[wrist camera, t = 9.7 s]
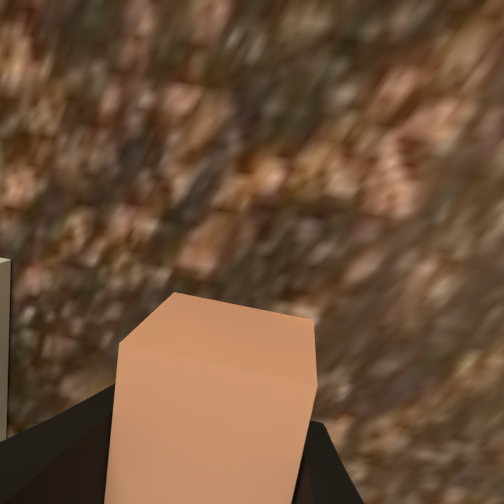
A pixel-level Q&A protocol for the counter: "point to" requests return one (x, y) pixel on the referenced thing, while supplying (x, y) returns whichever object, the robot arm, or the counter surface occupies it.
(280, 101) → the counter surface
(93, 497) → the robot arm
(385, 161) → the counter surface
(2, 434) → the baseplate
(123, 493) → the terracotta brick
